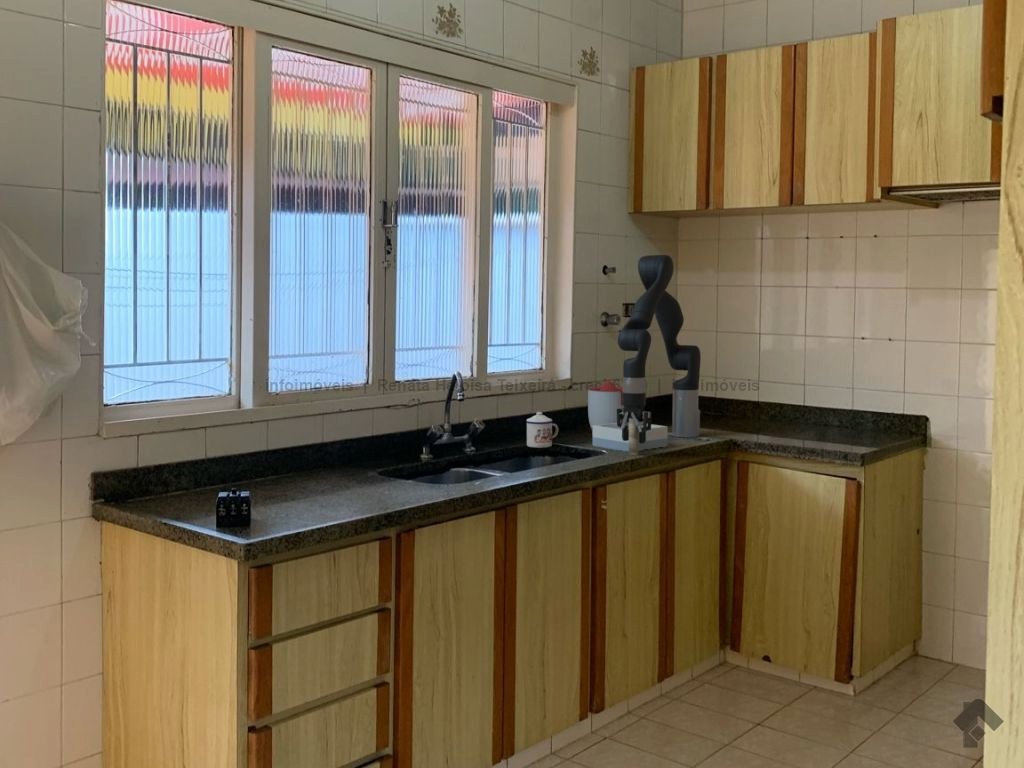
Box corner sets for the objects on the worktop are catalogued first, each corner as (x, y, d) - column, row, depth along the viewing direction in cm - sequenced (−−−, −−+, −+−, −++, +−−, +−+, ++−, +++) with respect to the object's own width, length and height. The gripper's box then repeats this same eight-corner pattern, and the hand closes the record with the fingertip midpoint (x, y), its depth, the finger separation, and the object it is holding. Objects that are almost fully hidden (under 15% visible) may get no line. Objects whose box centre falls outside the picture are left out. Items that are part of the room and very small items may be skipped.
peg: (633, 453, 339) (633, 417, 338) (640, 455, 336) (640, 418, 335) (626, 454, 337) (626, 418, 336) (633, 456, 334) (633, 419, 333)
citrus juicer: (619, 438, 374) (619, 383, 372) (579, 434, 384) (579, 380, 382) (641, 433, 386) (641, 380, 384) (601, 429, 397) (602, 377, 395)
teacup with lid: (534, 448, 350) (534, 414, 349) (521, 445, 358) (521, 411, 357) (564, 445, 356) (564, 412, 355) (550, 442, 364) (550, 409, 363)
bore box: (630, 440, 368) (630, 421, 367) (667, 446, 353) (667, 426, 353) (592, 445, 356) (592, 425, 356) (629, 452, 342) (629, 431, 342)
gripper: (658, 392, 331) (657, 443, 333) (626, 388, 343) (626, 438, 344) (641, 393, 327) (641, 445, 328) (610, 390, 338) (609, 440, 340)
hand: (633, 441), depth 336 cm, fingers open, 7 cm apart
